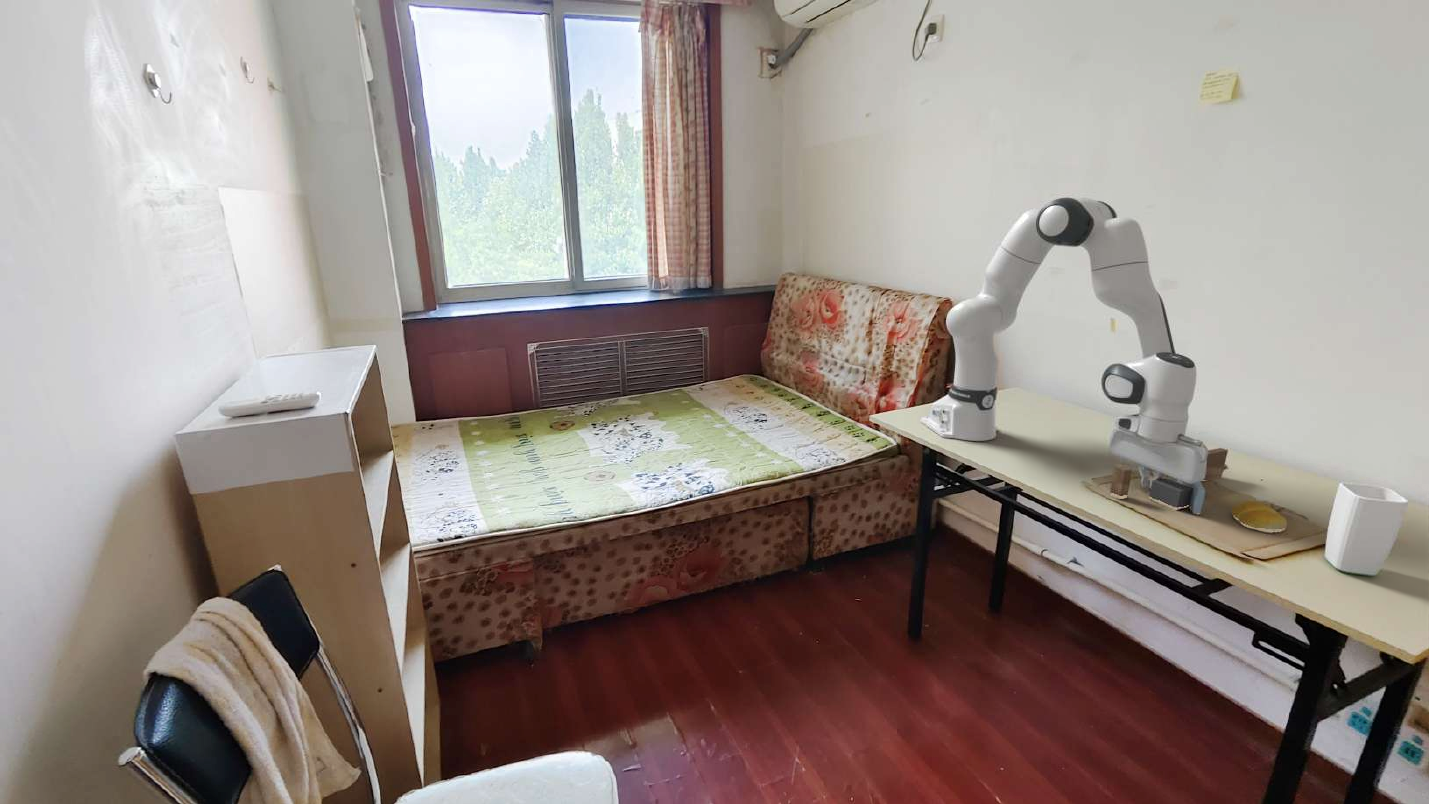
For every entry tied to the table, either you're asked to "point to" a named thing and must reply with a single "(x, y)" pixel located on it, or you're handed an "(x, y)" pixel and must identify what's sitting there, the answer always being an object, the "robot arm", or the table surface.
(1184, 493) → the block
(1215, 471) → the block
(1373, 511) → the cup
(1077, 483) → the table surface
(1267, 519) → the bread roll
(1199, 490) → the gate
